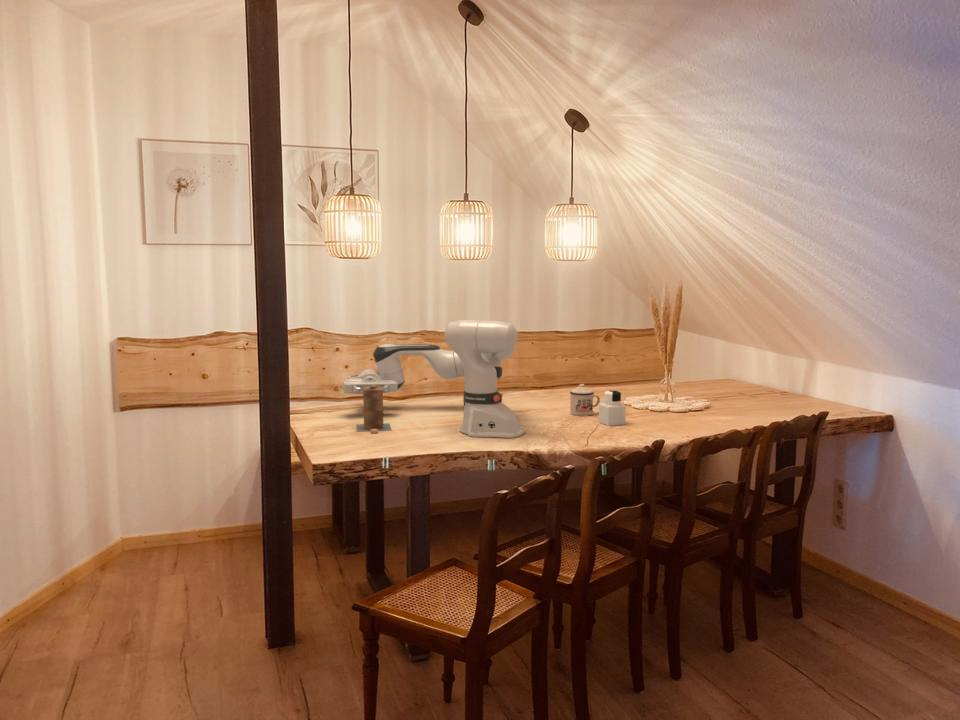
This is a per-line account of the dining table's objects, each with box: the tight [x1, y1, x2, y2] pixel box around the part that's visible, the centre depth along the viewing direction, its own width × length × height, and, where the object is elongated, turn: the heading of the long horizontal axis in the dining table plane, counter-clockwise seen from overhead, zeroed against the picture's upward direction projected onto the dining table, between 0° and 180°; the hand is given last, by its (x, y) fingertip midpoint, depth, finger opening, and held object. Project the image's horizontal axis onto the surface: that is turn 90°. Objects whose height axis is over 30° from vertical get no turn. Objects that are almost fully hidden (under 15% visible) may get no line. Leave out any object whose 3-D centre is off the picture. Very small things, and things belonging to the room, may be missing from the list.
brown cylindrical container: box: [362, 385, 384, 430], centre depth 288 cm, size 7×7×15 cm
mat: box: [355, 422, 392, 433], centre depth 289 cm, size 12×12×1 cm
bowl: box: [370, 429, 379, 435], centre depth 281 cm, size 3×3×2 cm
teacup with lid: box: [569, 383, 601, 417], centre depth 315 cm, size 12×9×12 cm
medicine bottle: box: [598, 390, 626, 427], centre depth 297 cm, size 7×7×12 cm
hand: (371, 390), depth 300 cm, fingers open, 8 cm apart
